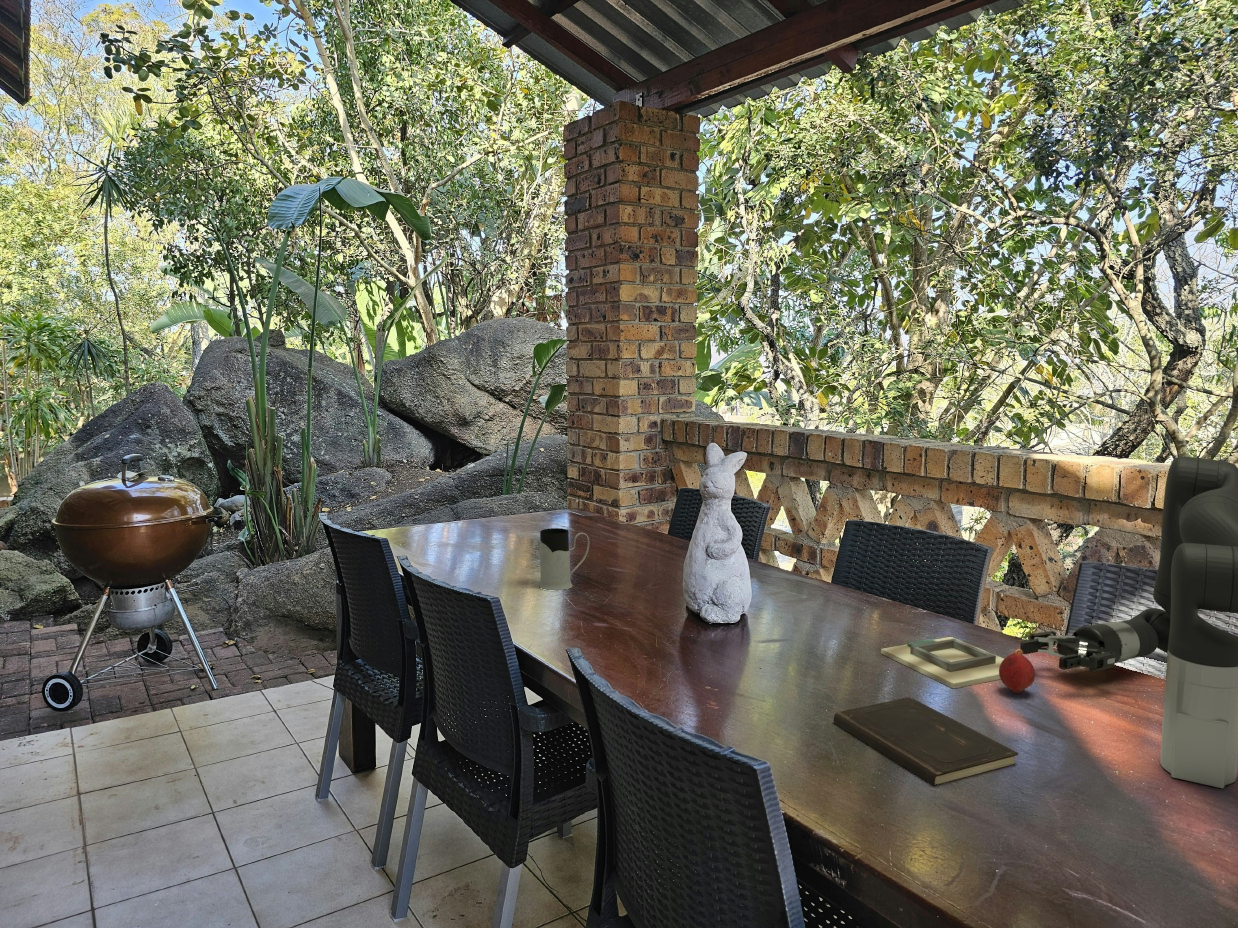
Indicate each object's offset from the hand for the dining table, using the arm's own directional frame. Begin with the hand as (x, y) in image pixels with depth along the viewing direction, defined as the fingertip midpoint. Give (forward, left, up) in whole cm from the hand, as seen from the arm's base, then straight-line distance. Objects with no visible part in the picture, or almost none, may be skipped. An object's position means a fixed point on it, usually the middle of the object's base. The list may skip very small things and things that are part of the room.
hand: (1040, 655), depth 154 cm
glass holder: (+10, +116, -6) cm, 117 cm away
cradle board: (+4, +16, -6) cm, 18 cm away
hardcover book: (-33, +12, -7) cm, 36 cm away
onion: (-5, +3, -6) cm, 8 cm away
